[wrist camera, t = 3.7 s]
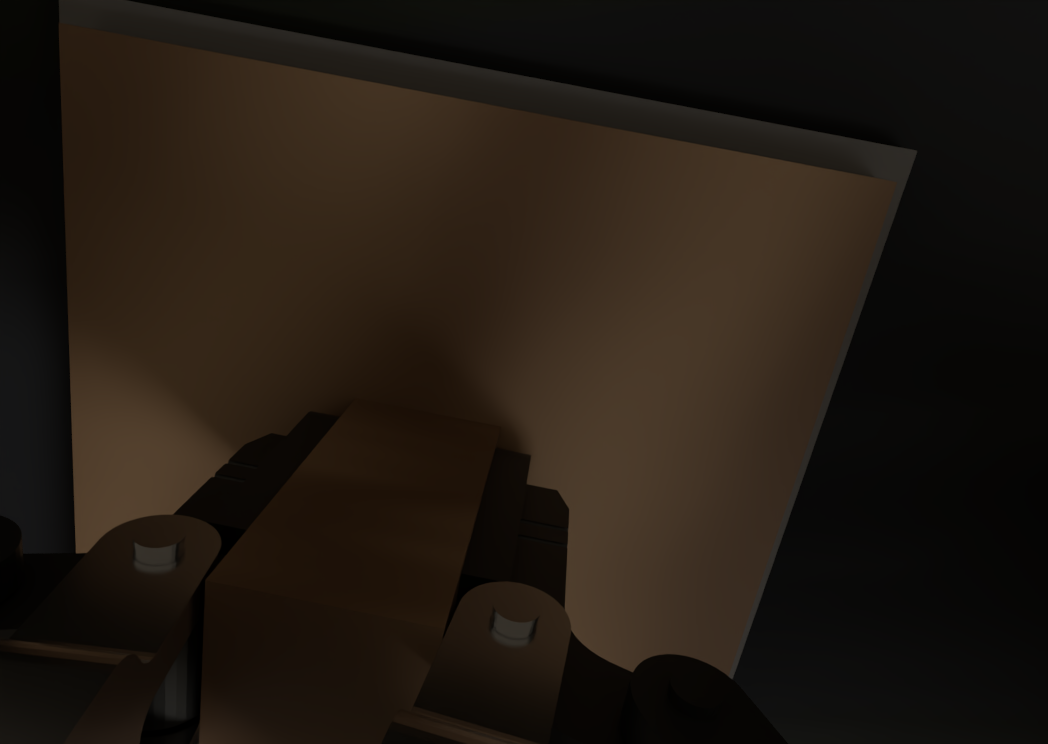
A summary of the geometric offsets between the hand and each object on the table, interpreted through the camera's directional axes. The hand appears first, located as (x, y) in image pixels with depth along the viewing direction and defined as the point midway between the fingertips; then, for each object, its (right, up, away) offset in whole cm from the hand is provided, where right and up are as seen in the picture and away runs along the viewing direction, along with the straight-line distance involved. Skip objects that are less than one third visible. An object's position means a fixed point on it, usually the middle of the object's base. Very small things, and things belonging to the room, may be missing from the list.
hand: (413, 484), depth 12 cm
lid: (0, 0, +1) cm, 1 cm away
